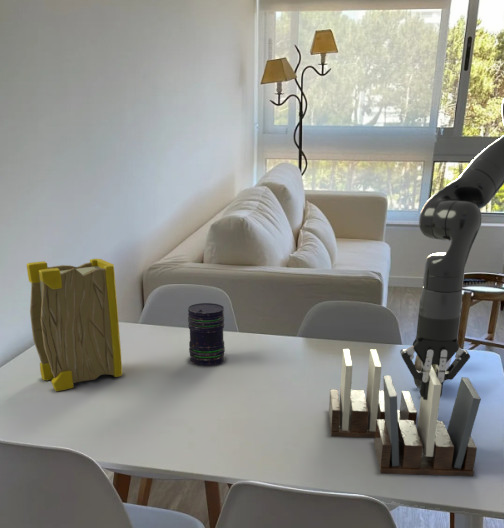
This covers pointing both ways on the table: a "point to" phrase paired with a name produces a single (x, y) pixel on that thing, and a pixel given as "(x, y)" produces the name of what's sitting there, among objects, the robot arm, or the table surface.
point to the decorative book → (75, 321)
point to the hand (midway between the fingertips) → (429, 398)
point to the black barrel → (206, 334)
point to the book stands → (400, 437)
